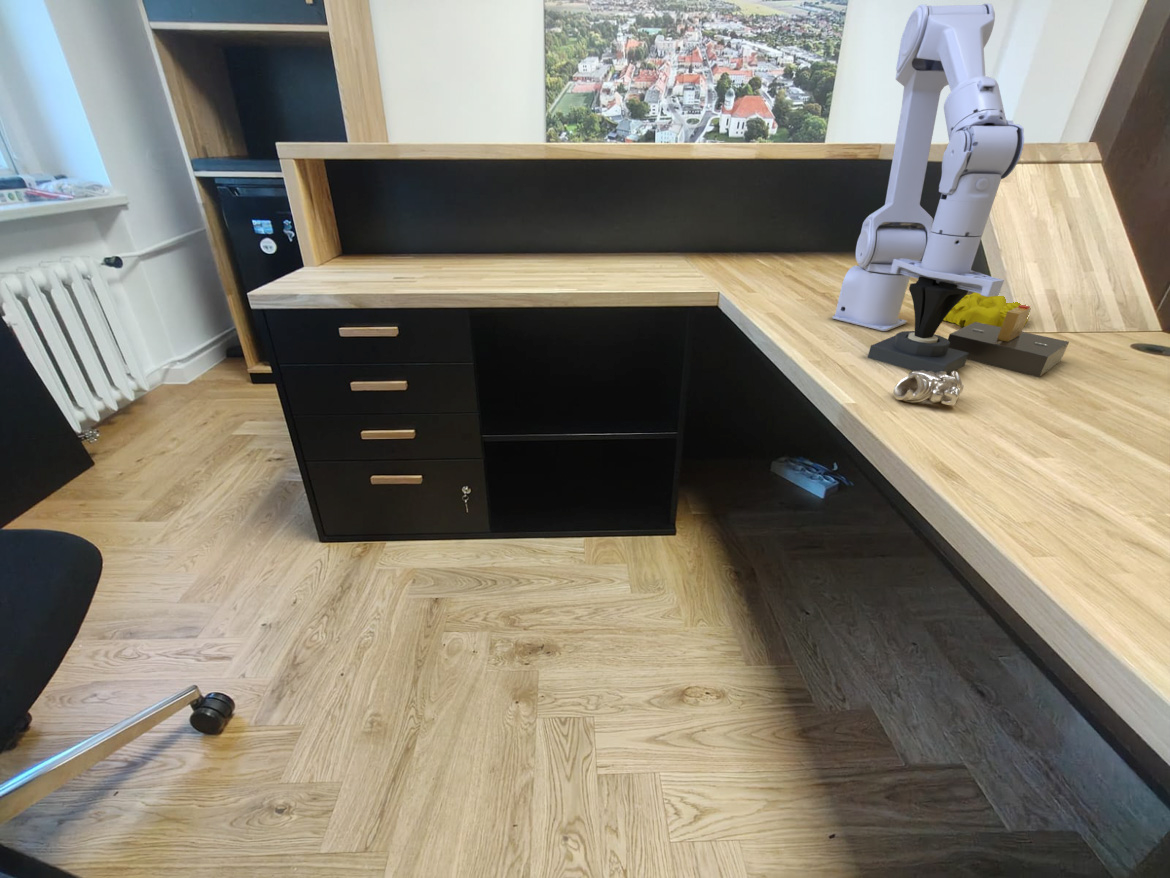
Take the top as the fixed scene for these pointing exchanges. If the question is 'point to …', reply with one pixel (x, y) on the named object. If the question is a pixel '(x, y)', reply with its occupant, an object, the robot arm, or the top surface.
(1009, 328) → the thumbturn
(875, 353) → the doorbell
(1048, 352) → the plate
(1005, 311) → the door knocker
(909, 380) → the ornament
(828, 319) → the top surface
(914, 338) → the bell button
